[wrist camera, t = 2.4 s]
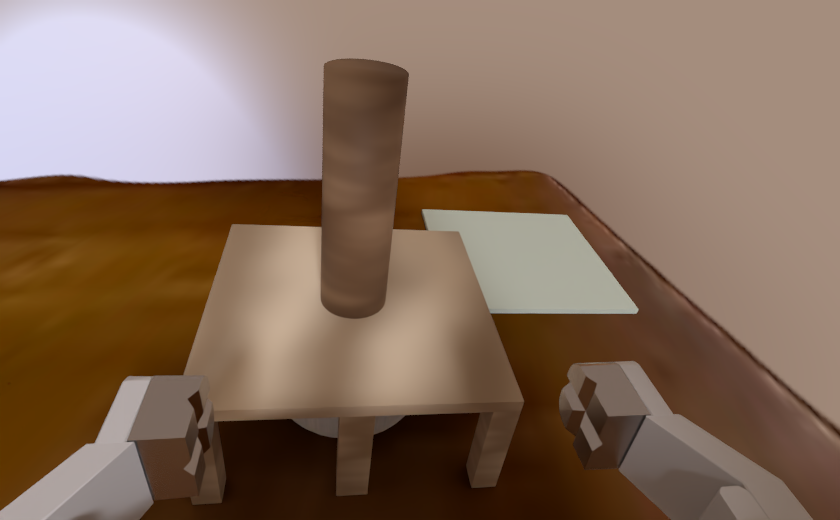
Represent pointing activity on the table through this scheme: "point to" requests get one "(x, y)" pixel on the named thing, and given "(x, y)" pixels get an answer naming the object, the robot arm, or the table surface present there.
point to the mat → (533, 263)
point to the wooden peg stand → (354, 306)
